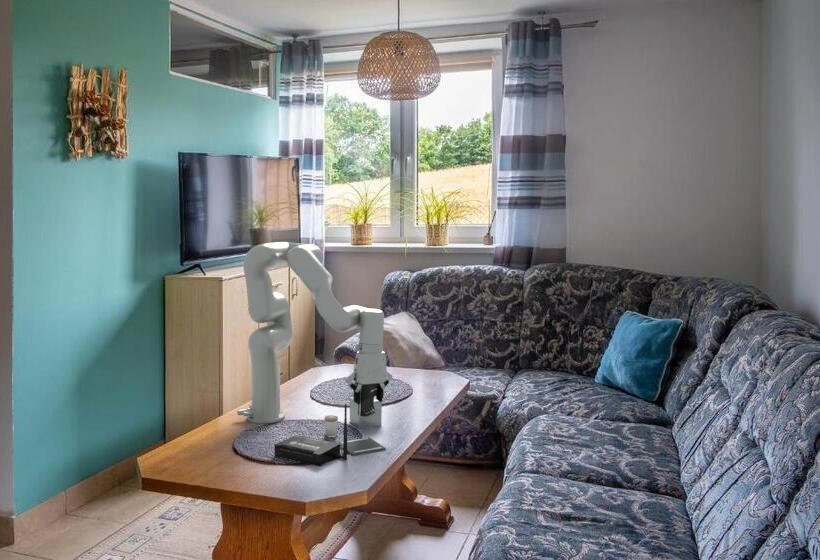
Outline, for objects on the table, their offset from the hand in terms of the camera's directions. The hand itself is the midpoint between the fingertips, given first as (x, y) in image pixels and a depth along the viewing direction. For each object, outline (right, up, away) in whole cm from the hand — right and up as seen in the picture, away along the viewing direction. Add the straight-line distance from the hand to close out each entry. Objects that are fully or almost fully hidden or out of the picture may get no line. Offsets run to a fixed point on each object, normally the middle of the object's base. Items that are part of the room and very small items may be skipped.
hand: (368, 401), depth 229 cm
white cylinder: (-12, -11, -1) cm, 16 cm away
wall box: (-2, -9, +11) cm, 14 cm away
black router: (-15, -13, -20) cm, 29 cm away
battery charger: (0, -5, +1) cm, 5 cm away
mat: (-1, -12, -12) cm, 17 cm away
